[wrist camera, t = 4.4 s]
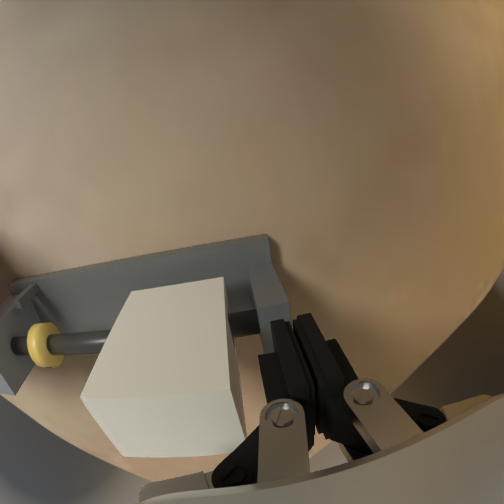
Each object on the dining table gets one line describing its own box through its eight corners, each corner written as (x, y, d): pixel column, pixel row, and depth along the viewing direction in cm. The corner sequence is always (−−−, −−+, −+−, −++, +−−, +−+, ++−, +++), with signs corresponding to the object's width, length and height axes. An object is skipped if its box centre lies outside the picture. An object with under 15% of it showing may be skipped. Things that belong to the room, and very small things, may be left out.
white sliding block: (150, 345, 16) (123, 456, 9) (131, 291, 15) (80, 397, 8) (235, 334, 16) (248, 450, 9) (223, 276, 15) (230, 388, 8)
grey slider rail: (38, 343, 18) (0, 401, 12) (10, 280, 16) (-44, 329, 10) (276, 315, 19) (301, 390, 13) (265, 234, 17) (294, 287, 11)
